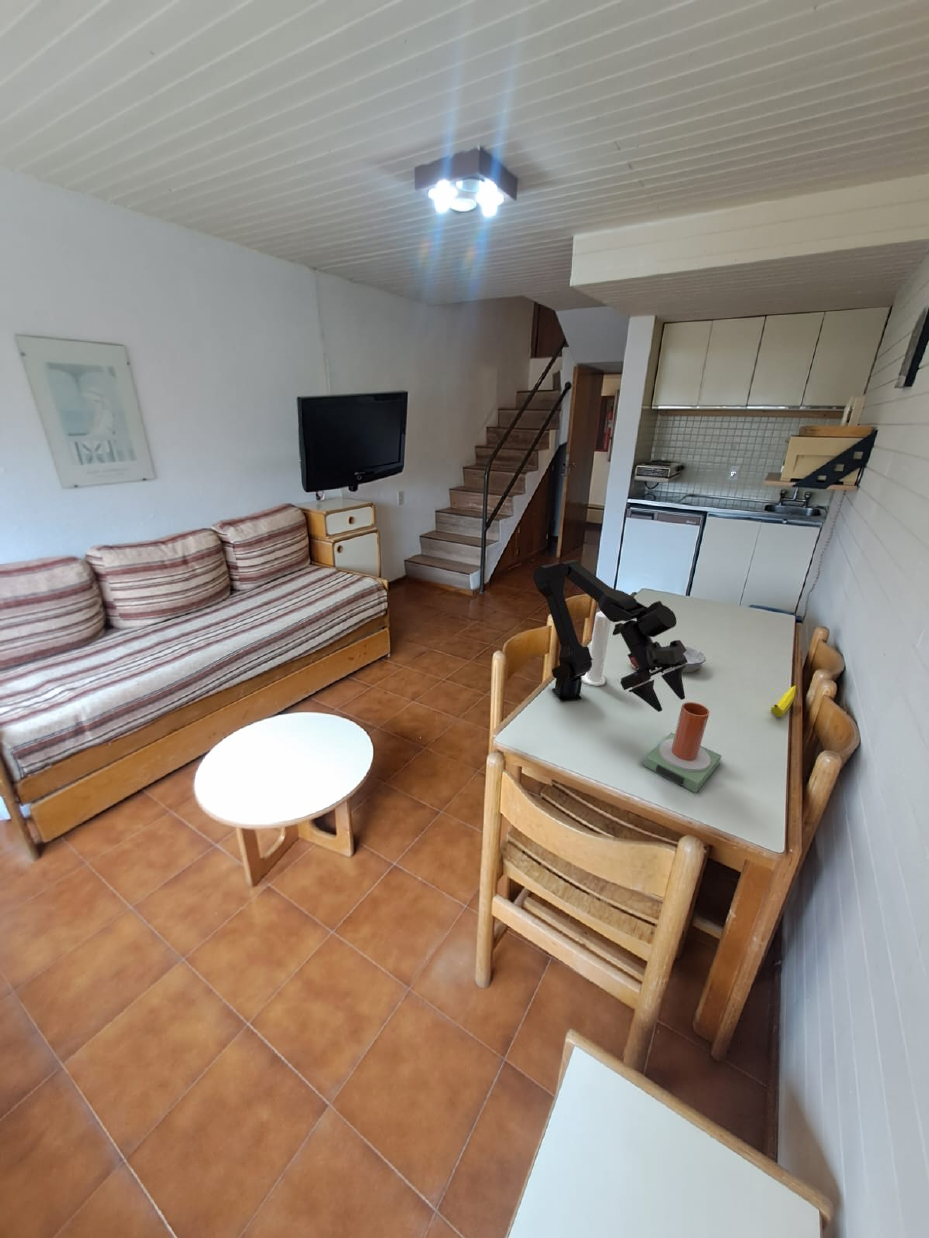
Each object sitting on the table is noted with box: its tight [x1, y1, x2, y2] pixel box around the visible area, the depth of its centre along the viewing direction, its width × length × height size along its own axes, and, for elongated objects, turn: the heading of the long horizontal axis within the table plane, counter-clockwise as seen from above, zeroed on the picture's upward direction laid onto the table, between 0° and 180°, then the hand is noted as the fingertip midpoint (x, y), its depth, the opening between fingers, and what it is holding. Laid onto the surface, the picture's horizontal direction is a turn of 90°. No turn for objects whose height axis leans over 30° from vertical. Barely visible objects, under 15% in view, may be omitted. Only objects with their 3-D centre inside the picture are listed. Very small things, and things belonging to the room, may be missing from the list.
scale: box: [643, 731, 722, 793], centre depth 114 cm, size 14×12×3 cm
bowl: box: [681, 646, 707, 673], centre depth 159 cm, size 13×13×5 cm
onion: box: [629, 657, 639, 670], centre depth 157 cm, size 6×6×8 cm
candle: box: [581, 610, 612, 687], centre depth 145 cm, size 7×7×25 cm
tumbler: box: [671, 701, 711, 761], centre depth 111 cm, size 6×6×12 cm
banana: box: [770, 685, 797, 718], centre depth 136 cm, size 3×19×6 cm, turn 134°
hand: (672, 704), depth 114 cm, fingers open, 9 cm apart
